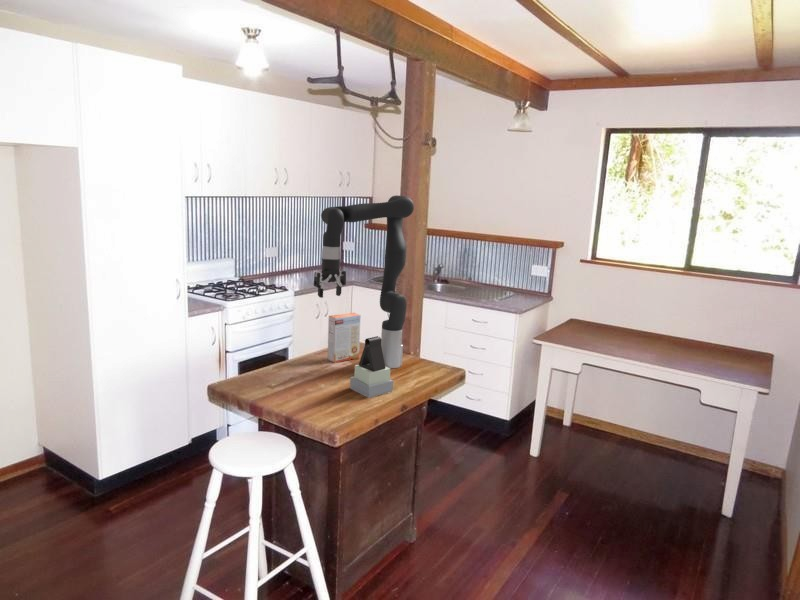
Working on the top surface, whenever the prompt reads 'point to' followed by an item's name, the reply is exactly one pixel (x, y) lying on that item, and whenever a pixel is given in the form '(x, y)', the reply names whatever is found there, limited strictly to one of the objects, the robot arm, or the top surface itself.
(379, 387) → the tower base slab
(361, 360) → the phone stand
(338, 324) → the cracker box
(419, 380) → the top surface
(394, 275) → the robot arm
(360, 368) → the tower top block
